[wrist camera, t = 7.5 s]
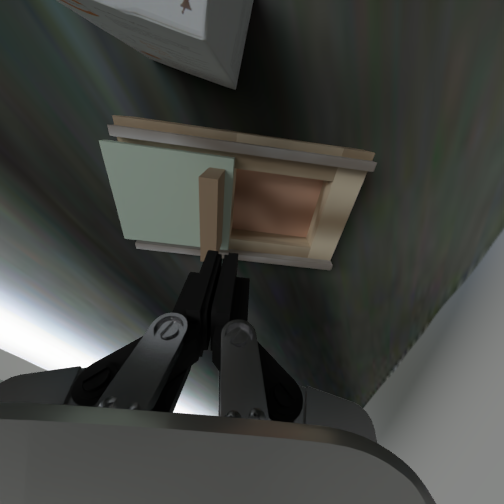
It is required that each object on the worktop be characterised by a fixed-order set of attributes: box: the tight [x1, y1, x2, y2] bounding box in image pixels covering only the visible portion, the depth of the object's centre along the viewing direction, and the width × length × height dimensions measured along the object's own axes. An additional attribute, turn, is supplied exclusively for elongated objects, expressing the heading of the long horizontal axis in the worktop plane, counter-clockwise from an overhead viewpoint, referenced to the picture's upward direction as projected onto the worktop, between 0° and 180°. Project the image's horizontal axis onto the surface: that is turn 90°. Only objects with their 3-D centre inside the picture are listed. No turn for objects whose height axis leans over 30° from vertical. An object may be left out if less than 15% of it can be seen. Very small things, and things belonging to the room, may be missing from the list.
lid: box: [99, 140, 235, 261], centre depth 19 cm, size 10×12×5 cm
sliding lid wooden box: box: [107, 115, 377, 270], centre depth 23 cm, size 14×24×4 cm, turn 83°
